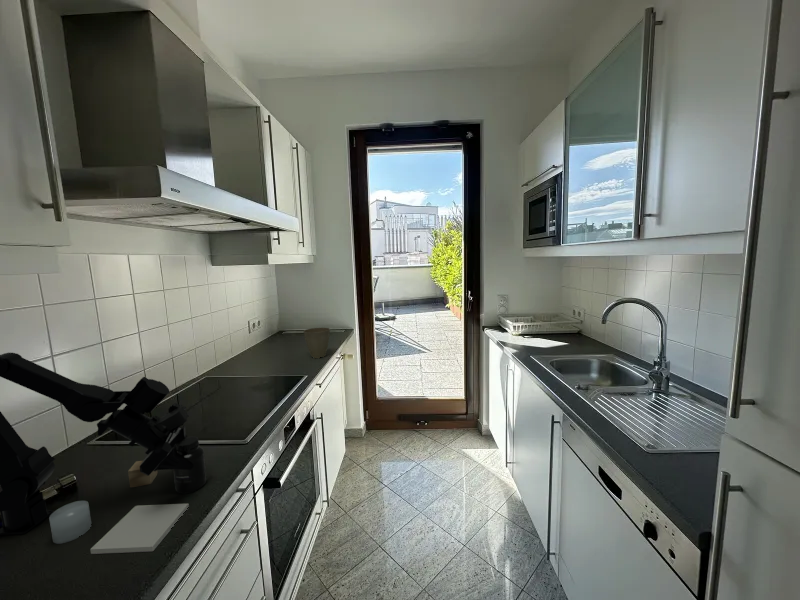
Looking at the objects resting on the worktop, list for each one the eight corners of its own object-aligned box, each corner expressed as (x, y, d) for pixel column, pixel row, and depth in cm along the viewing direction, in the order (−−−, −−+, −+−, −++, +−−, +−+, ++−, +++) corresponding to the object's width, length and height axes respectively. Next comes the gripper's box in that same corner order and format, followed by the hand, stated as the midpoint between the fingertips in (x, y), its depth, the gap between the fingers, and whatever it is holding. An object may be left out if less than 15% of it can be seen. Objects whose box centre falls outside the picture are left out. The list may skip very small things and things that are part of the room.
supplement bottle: (176, 498, 83) (170, 451, 82) (174, 484, 88) (169, 439, 87) (208, 487, 87) (204, 441, 85) (205, 473, 92) (200, 431, 91)
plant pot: (334, 353, 208) (332, 327, 207) (327, 360, 194) (326, 332, 192) (309, 353, 209) (307, 327, 207) (301, 360, 194) (299, 333, 192)
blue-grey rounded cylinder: (44, 544, 71) (40, 521, 70) (71, 522, 77) (68, 501, 76) (74, 543, 71) (70, 520, 70) (99, 521, 77) (95, 500, 76)
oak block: (130, 487, 88) (127, 471, 87) (138, 477, 92) (136, 461, 92) (150, 484, 89) (148, 467, 88) (157, 474, 93) (155, 458, 93)
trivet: (91, 553, 68) (90, 549, 68) (136, 509, 80) (135, 505, 80) (153, 551, 68) (152, 546, 68) (189, 507, 80) (188, 503, 80)
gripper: (150, 415, 75) (213, 452, 80) (172, 387, 92) (222, 418, 97) (110, 458, 73) (177, 493, 78) (140, 421, 90) (193, 451, 96)
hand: (195, 459), depth 87 cm, fingers closed on supplement bottle, 7 cm apart
